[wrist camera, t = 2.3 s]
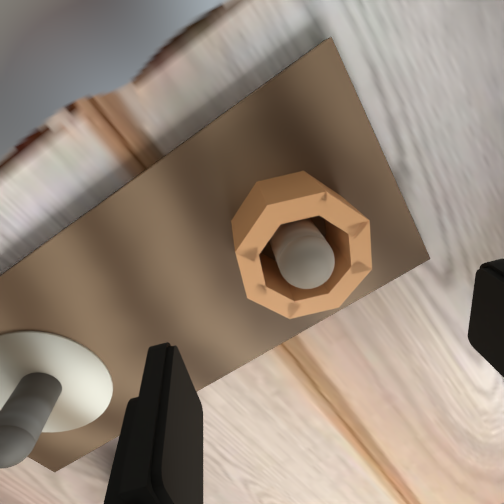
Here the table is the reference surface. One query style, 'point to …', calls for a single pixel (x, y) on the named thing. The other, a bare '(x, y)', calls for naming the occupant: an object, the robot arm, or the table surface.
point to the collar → (288, 210)
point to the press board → (188, 263)
